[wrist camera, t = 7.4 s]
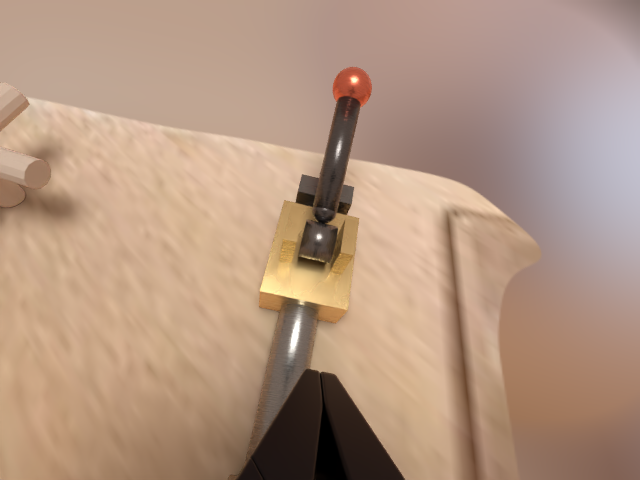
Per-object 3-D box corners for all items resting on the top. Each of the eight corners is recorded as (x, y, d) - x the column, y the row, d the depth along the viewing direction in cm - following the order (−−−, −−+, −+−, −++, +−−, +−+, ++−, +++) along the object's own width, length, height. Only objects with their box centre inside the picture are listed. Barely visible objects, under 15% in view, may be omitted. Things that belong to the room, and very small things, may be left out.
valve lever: (336, 263, 19) (380, 64, 21) (293, 254, 19) (340, 53, 20) (330, 264, 22) (369, 86, 23) (293, 256, 22) (334, 77, 23)
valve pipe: (307, 524, 18) (331, 576, 12) (205, 507, 17) (182, 554, 12) (350, 217, 28) (374, 168, 22) (286, 202, 28) (295, 147, 22)
